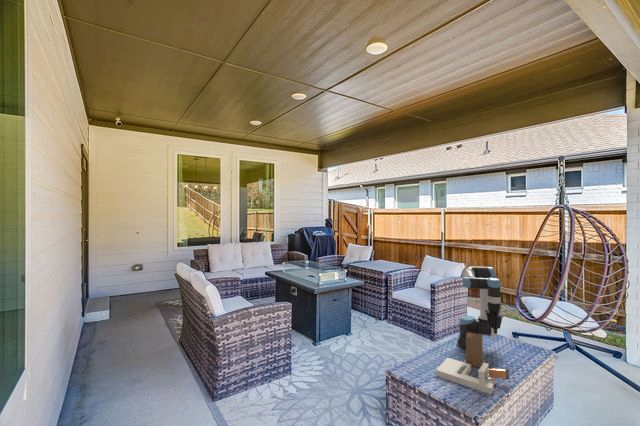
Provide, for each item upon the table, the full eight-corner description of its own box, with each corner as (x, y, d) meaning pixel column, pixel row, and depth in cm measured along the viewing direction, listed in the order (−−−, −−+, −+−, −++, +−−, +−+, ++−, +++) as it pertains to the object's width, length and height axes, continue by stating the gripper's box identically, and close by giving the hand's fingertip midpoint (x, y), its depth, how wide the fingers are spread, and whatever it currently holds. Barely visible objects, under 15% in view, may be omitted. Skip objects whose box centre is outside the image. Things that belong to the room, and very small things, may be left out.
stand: (447, 363, 222) (447, 347, 222) (499, 379, 201) (499, 361, 201) (436, 375, 206) (436, 358, 206) (491, 394, 184) (491, 375, 184)
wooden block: (467, 358, 228) (467, 331, 228) (482, 361, 223) (482, 334, 223) (466, 364, 220) (465, 336, 220) (481, 368, 215) (481, 339, 214)
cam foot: (479, 384, 194) (479, 370, 194) (475, 376, 203) (475, 363, 203) (511, 387, 190) (511, 373, 190) (505, 379, 200) (505, 365, 200)
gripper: (481, 299, 208) (481, 334, 209) (497, 305, 196) (497, 342, 196) (490, 298, 210) (491, 333, 210) (506, 304, 197) (507, 341, 198)
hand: (494, 337), depth 203 cm, fingers closed
